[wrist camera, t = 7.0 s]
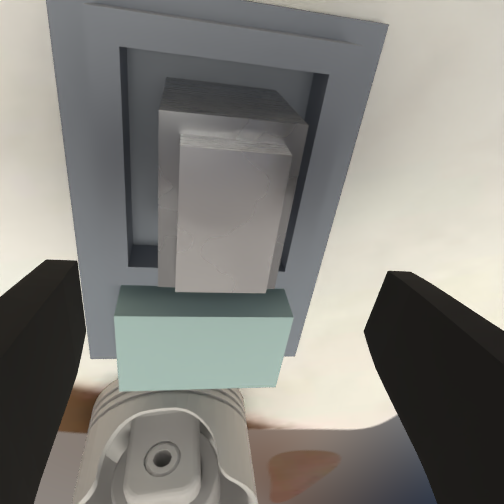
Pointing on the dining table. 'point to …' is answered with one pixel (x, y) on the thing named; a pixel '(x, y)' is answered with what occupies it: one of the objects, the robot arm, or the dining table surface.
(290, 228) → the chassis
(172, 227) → the block
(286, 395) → the dining table surface
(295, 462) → the dining table surface
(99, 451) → the engine component
